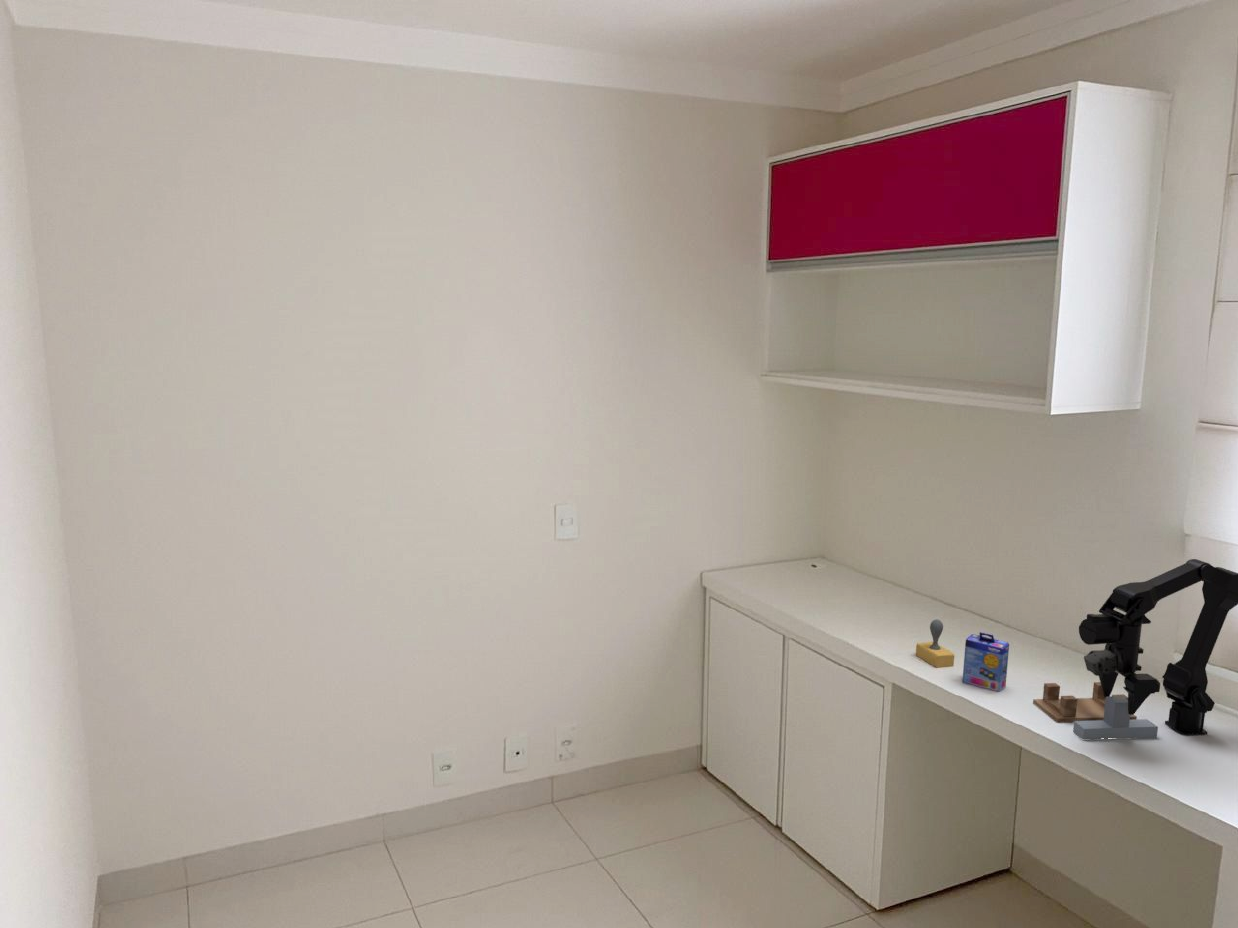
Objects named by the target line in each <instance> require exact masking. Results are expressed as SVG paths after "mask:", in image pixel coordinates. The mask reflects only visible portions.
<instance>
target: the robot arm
mask: <svg viewBox="0 0 1238 928" xmlns="http://www.w3.org/2000/svg"><path fill="white" fill-rule="evenodd" d="M1200 582H1203V584H1202V586H1201V591H1202V592H1201V593H1202V596H1203V605H1202V608H1201V611H1200V613H1199V615H1198V616H1197V617H1198V618H1197V620H1196V623H1195V625H1194V626H1193V627H1194V628H1193V630H1192V633H1191V635H1190V638H1189V640H1188V641H1187V645H1186V648H1185V650H1184V653H1183V655H1182V657H1181V658H1180V659H1179V660H1178V661H1177V662H1175V663H1172V662H1169V663H1168V664H1167V665H1166V669H1165V672H1164V674H1163V675H1162V676H1161V678H1162V679H1163V680H1162V686H1163V689H1164V691H1165V694H1166V698H1168V699H1171V700H1172V702H1171V707H1169V714H1168V720H1165V721H1164V724H1165V725H1166V726H1169V727H1170V728H1172V729H1173V730H1174V731H1176V732H1177V733H1179V734H1180V735H1183V736H1185V735H1186V736H1188V735H1189V736H1190V735H1193V736H1194V735H1208V733H1209V731H1207V730H1205V729H1204V725H1205V717H1206V714H1207V713H1208V712H1211V711H1213V708H1214V707H1215V705H1216V704H1215V703H1216V702H1215V701H1214V700H1213V699H1212V697H1211V696H1210V695H1209V694H1208V693H1207V688H1208V684H1209V683H1208V682H1209V680H1208V675H1207V670H1206V668H1207V664H1208V662H1209V660H1210V657H1211V655H1212V653H1213V650H1214V648H1215V645H1216V642H1217V641H1218V638H1219V635H1220V633H1221V631H1222V628H1223V626H1224V623H1225V621H1226V619H1227V615H1228V614H1229V612H1230V611H1231V610H1233V608H1235V607H1236V606H1238V572H1236V571H1232V570H1229V569H1226V568H1225V567H1224V568H1223V567H1220V566H1213V565H1212V564H1211V563H1209V562H1206V561H1203V560H1200V559H1196V558H1191V559H1188V560H1187V561H1185V563H1183V564H1180V565H1179V566H1177V567H1176V566H1175V568H1172V569H1170V570H1168V571H1166V572H1164V573H1161V574H1158V575H1157V576H1154V577H1152V578H1150V579H1148V580H1145V581H1138V582H1137V581H1133V582H1128V583H1124V584H1121V585H1117V586H1116V587H1114V589H1113V590H1112V593H1111V594H1110V595H1109V597H1107V599H1106V601H1104V603H1103V604H1102V605H1101V607H1100V609H1098V612H1099V613H1097V614H1096V613H1088V614H1086V618H1085V619H1083V620H1081V622H1080V624H1079V625H1078V633H1079V634H1078V635H1079V637H1080V640H1081V641H1082V642H1083V643H1084V644H1086V645H1089V646H1090V645H1091V646H1092V645H1104V649H1101V650H1100V649H1099V650H1090V651H1089V652H1088V653H1087V655H1084V657H1083V661H1084V664H1085V667H1086V670H1087V671H1089V672H1090V673H1092V674H1093V675H1094V676H1095V677H1098V678H1099V682H1100V683H1101V687H1102V691H1103V695H1104V697H1105V698H1106V697H1110V696H1111V694H1112V692H1113V689H1114V686H1115V683H1116V681H1117V680H1118V679H1117V678H1118V675H1121V676H1122V677H1124V680H1123V683H1124V686H1122V688H1123V689H1124V690H1125V691H1126V692H1127V697H1128V714H1129V715H1135V714H1136V712H1137V711H1138V709H1139V708H1140V707H1141V705H1143V703H1144V702H1145V701H1146V700H1147V699H1148V698H1149V696H1150V695H1151V694H1153V695H1154V694H1155V693H1160V690H1161V682H1160V681H1159V680H1158V679H1157V678H1155V677H1153V676H1152V675H1150V674H1148V673H1136V671H1137V672H1139V671H1140V672H1141V671H1142V666H1141V664H1139V655H1140V654H1141V655H1142V654H1144V648H1142V647H1140V643H1141V634H1142V628H1143V627H1142V626H1143V625H1144V624H1145V625H1149V624H1152V620H1150V619H1149V618H1148V617H1147V616H1146V614H1147V613H1149V612H1151V611H1152V610H1153V609H1155V607H1156V606H1157V603H1158V602H1159V601H1161V600H1162V599H1164V598H1167V597H1169V596H1171V595H1174V594H1176V593H1178V592H1179V591H1182V590H1184V589H1186V588H1189V587H1191V586H1193V585H1195V584H1197V583H1200ZM1118 610H1119V611H1118ZM1120 611H1121V612H1120ZM1122 612H1123V613H1122ZM1124 613H1125V614H1124Z"/></svg>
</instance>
